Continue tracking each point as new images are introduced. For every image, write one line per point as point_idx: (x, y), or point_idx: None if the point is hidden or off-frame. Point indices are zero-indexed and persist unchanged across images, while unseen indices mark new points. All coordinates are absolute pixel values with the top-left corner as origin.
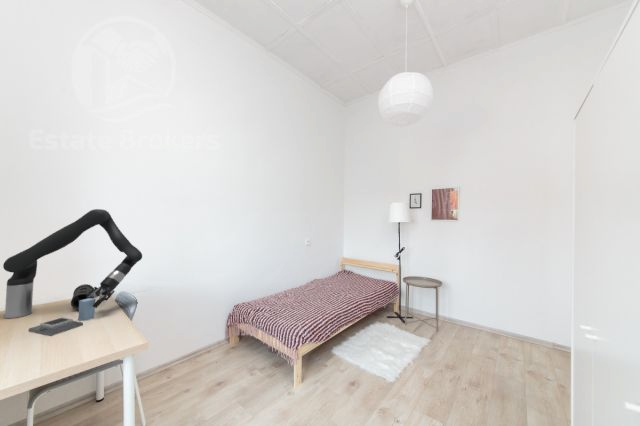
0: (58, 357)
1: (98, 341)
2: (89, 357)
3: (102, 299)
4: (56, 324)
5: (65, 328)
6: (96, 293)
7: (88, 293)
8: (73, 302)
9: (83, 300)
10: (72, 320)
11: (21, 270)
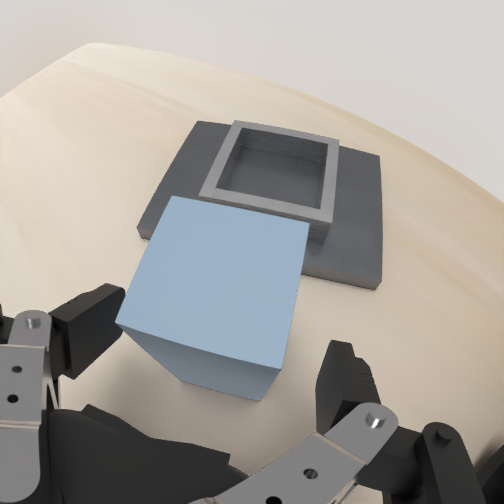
0: (62, 81)
1: (3, 139)
2: (5, 99)
3: (13, 321)
4: (227, 135)
5: (174, 158)
6: (201, 468)
7: (460, 465)
8: None
9: (252, 238)
10: (201, 199)
11: None
